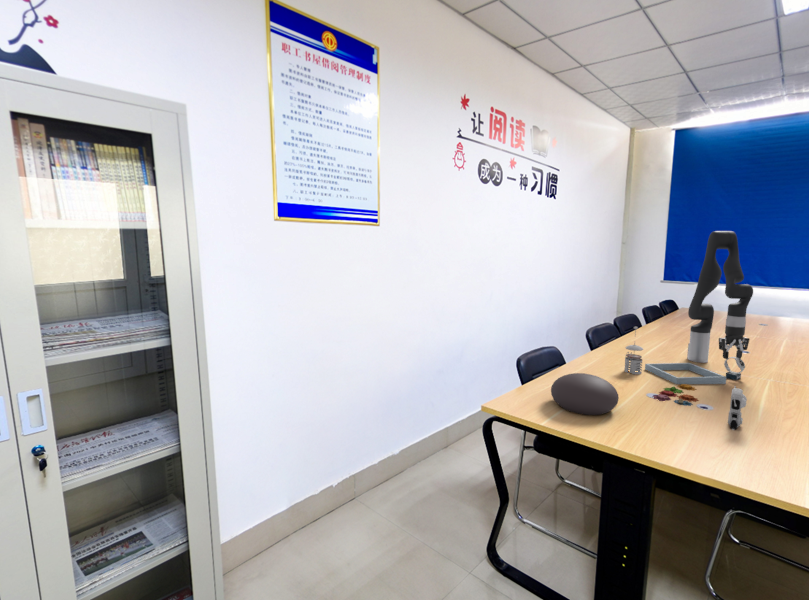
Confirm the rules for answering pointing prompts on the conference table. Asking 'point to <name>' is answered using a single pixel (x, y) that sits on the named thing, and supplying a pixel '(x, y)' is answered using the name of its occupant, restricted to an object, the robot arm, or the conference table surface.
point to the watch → (732, 374)
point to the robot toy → (736, 408)
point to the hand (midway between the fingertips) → (732, 358)
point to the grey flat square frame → (708, 379)
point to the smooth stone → (584, 394)
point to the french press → (633, 359)
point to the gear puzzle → (670, 393)
